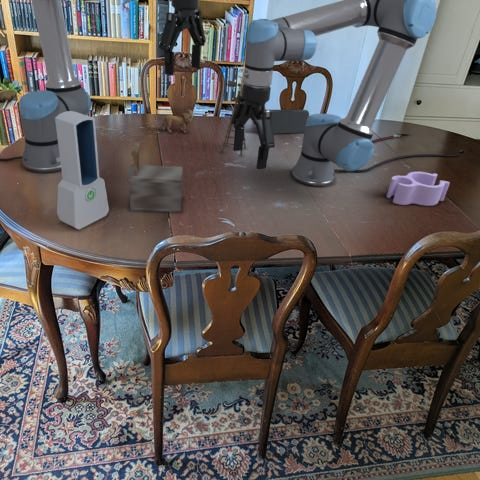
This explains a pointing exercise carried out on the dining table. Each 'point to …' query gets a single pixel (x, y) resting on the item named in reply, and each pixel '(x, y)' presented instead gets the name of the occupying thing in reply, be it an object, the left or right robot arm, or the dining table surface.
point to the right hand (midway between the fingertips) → (249, 159)
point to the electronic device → (79, 171)
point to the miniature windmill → (233, 84)
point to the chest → (155, 196)
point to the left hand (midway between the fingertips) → (182, 71)
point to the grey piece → (152, 170)
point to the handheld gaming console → (289, 121)
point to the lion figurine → (178, 120)
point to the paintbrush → (387, 137)
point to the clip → (417, 189)
